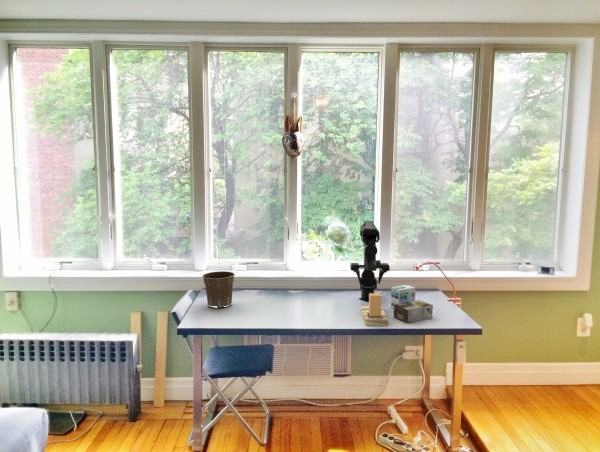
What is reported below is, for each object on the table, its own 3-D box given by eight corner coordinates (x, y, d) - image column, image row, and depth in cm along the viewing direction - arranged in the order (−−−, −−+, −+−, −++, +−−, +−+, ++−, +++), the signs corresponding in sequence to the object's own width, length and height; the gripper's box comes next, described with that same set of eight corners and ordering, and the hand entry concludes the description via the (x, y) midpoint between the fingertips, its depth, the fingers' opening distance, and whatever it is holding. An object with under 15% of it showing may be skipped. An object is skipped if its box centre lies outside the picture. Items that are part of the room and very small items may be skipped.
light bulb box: (399, 311, 208) (399, 290, 207) (390, 307, 214) (390, 286, 213) (415, 308, 213) (416, 287, 212) (406, 304, 219) (407, 284, 218)
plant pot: (196, 307, 215) (195, 276, 214) (214, 299, 230) (213, 270, 228) (224, 311, 209) (223, 279, 207) (241, 302, 224) (240, 272, 222)
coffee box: (418, 312, 207) (392, 317, 199) (419, 299, 206) (393, 304, 199) (432, 317, 199) (406, 323, 192) (433, 304, 198) (407, 309, 191)
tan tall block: (368, 319, 197) (369, 293, 196) (379, 319, 197) (380, 293, 195) (369, 322, 193) (370, 295, 192) (380, 322, 193) (381, 295, 191)
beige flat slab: (360, 309, 211) (360, 304, 211) (381, 310, 211) (381, 305, 210) (365, 325, 189) (365, 320, 189) (387, 325, 189) (387, 320, 188)
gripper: (351, 255, 201) (351, 288, 203) (391, 256, 200) (391, 288, 201) (350, 251, 212) (350, 282, 214) (388, 251, 211) (387, 282, 212)
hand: (369, 283), depth 210 cm, fingers open, 9 cm apart
